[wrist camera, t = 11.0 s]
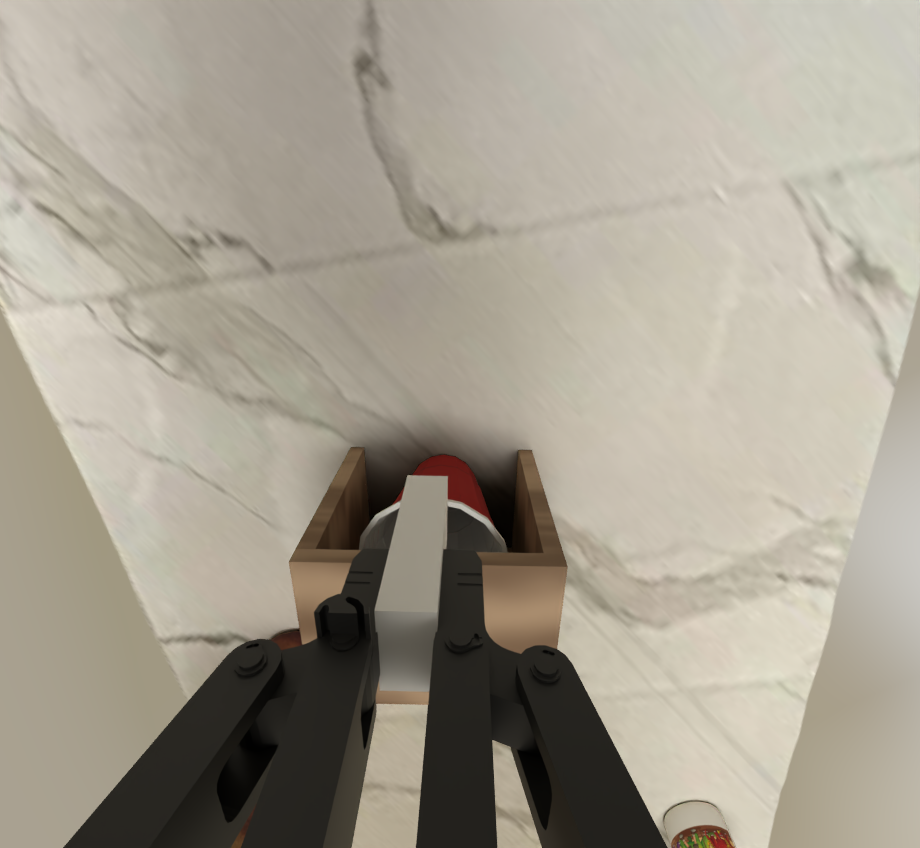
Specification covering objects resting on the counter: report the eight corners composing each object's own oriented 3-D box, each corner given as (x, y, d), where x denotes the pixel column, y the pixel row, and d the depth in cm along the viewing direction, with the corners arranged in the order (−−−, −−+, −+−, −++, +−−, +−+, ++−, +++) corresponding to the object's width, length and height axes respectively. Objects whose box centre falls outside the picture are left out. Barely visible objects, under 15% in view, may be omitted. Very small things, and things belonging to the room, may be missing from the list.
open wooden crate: (351, 447, 41) (288, 561, 27) (531, 450, 41) (567, 566, 27) (360, 554, 46) (311, 702, 31) (522, 557, 46) (549, 707, 31)
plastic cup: (379, 428, 41) (346, 501, 29) (500, 427, 40) (513, 501, 29) (388, 529, 45) (362, 626, 34) (498, 529, 45) (508, 627, 33)
